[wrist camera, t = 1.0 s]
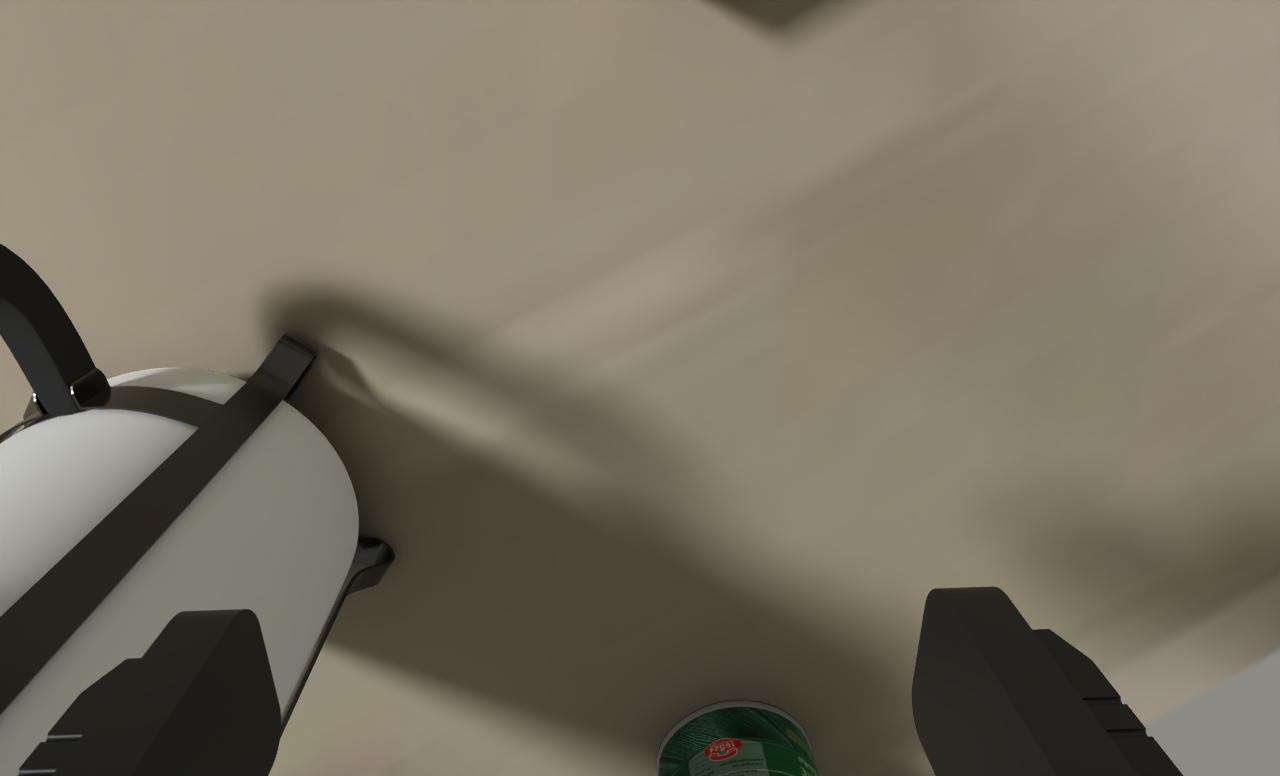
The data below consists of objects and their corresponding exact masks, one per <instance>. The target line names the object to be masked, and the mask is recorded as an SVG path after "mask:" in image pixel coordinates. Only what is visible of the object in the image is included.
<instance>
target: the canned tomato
mask: <svg viewBox="0 0 1280 776" xmlns="http://www.w3.org/2000/svg"><path fill="white" fill-rule="evenodd" d="M656 769H657V774H658V776H819V773H818V770H817V768H816V765H815V762H814V759H813V756H812V753H811V745H810V743H809V740H808V737H807V734H806V733H805V731H804V730H803V728H802V727H801V725H800V724H799V723H798V722H797V721H796V720H795V719H794V718H792V717H791V716H790V715H789V714H787V713H785V712H784V711H782V710H780V709H778V708H776V707H773V706H770V705H767V704H764V703H758V702H752V701H730V702H723V703H717V704H714V705H711V706H708V707H704V708H702V709H700V710H698V711H696V712H694V713H692V714H690V715H688V716H687V717H685V718H684V719H683V720H681V721H680V722H678V723H677V724H676V725H675V726H674V727H673V728H672V729H671V731H670V732H669V733H668V734H667V736H666V737H665V739H664V740H663V742H662V744H661V746H660V749H659V752H658V755H657V768H656Z"/></svg>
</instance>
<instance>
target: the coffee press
mask: <svg viewBox="0 0 1280 776" xmlns="http://www.w3.org/2000/svg"><path fill="white" fill-rule="evenodd" d="M0 335H1V336H2V338H3V339H4V341H5V342H6V344H7V346H8V347H9V349H10V350H11V352H12V354H13V355H14V357H15V359H16V360H17V362H18V364H19V366H20V367H21V369H22V371H23V373H24V374H25V376H26V378H27V380H28V381H29V383H30V385H31V387H32V388H33V390H34V392H33V395H32V397H31V399H30V402H29V404H28V406H27V408H26V411H25V413H24V416H23V418H24V420H23V421H22V422H20V423H19V424H17V425H15V426H14V427H12V428H11V429H9V430H8V431H6V432H5V433H3V434H2V435H0V776H18V774H19V768H20V767H21V765H22V764H23V763H24V762H25V761H26V759H27V758H28V757H29V756H30V754H31V753H32V752H33V751H34V749H35V748H36V747H37V746H38V745H39V743H40V742H46V740H47V737H48V735H47V734H48V732H49V731H50V730H51V729H52V727H53V726H54V725H55V724H56V723H57V721H58V720H59V719H60V718H61V716H62V715H63V714H64V713H65V711H66V710H67V709H68V708H69V707H70V705H71V704H72V703H73V702H74V700H75V699H76V698H77V697H78V696H79V694H80V693H81V692H83V691H84V690H85V689H87V688H88V687H89V686H91V685H92V684H93V683H95V682H96V681H97V680H99V679H100V678H101V677H103V676H104V675H106V674H107V673H108V672H110V671H111V670H112V669H114V668H115V667H116V666H118V665H119V664H120V663H122V662H123V661H124V660H126V659H129V658H142V657H143V655H144V654H145V653H146V651H147V650H148V649H149V647H150V646H151V645H152V643H153V642H154V641H155V640H156V638H157V637H158V636H159V634H160V633H161V632H162V630H163V629H164V628H165V626H166V625H167V624H168V623H169V621H170V620H171V619H172V618H173V617H174V616H175V615H176V614H178V613H180V612H182V611H202V610H232V609H249V610H251V611H253V612H254V613H255V614H256V616H257V618H258V620H259V623H260V627H261V631H262V635H263V639H264V643H265V647H266V651H267V655H268V659H269V663H270V668H271V672H272V676H273V680H274V684H275V688H276V692H277V696H278V700H279V705H280V710H281V734H280V738H281V736H282V733H283V731H284V729H285V727H286V725H287V722H288V720H289V718H290V716H291V714H292V712H293V709H294V707H295V705H296V703H297V701H298V699H299V696H300V694H301V692H302V690H303V688H304V686H305V683H306V681H307V679H308V677H309V675H310V673H311V670H312V668H313V666H314V664H315V662H316V660H317V657H318V655H319V653H320V651H321V649H322V647H323V644H324V642H325V640H326V638H327V636H328V634H329V632H330V629H331V627H332V625H333V623H334V621H335V619H336V616H337V614H338V612H339V610H340V608H341V606H342V604H343V602H344V600H345V597H346V596H347V595H349V594H351V593H353V592H356V591H359V590H362V589H365V588H369V587H372V586H375V585H377V584H378V583H379V582H380V580H381V579H382V577H383V576H384V574H385V573H386V571H387V570H388V568H389V567H390V565H391V564H392V562H393V561H394V558H395V554H394V551H393V550H392V548H391V547H390V546H389V545H388V544H387V543H385V542H383V541H382V540H379V539H376V538H360V539H358V533H359V516H358V507H357V501H356V496H355V492H354V489H353V486H352V483H351V480H350V477H349V475H348V473H347V471H346V468H345V466H344V464H343V463H342V461H341V459H340V457H339V456H338V454H337V452H336V451H335V449H334V448H333V447H332V445H331V444H330V443H329V441H328V440H327V439H326V437H325V436H324V435H323V434H322V433H321V432H320V431H319V430H318V428H317V427H316V426H315V425H314V424H313V423H312V422H310V421H309V420H308V419H307V418H306V417H305V416H304V415H303V414H301V413H300V412H299V411H298V410H296V409H295V408H294V407H292V406H291V405H290V404H288V401H289V400H290V398H291V397H292V395H293V393H294V392H295V390H296V389H297V387H298V386H299V384H300V383H301V381H302V380H303V379H304V377H305V376H306V374H307V372H308V371H309V369H310V368H311V366H312V364H313V363H314V361H315V359H316V357H317V355H318V353H319V351H317V350H316V349H314V348H312V347H310V346H308V345H307V344H305V343H303V342H301V341H299V340H297V339H296V338H294V337H292V336H290V335H288V334H287V333H286V334H285V335H284V336H283V337H282V338H281V339H280V340H279V342H278V343H277V344H276V346H275V347H274V348H273V350H272V351H271V352H270V354H269V355H268V356H267V358H266V359H265V360H264V362H263V363H262V364H261V366H260V367H259V368H258V370H257V371H256V372H255V373H254V375H253V376H252V377H251V378H250V379H249V380H248V381H247V382H246V381H244V380H241V379H238V378H235V377H232V376H228V375H225V374H221V373H217V372H212V371H207V370H201V369H192V368H156V369H147V370H141V371H136V372H131V373H127V374H123V375H119V376H116V377H113V378H110V379H106V377H105V375H104V374H103V373H102V372H101V371H100V370H99V369H97V368H96V367H95V365H94V363H93V361H92V359H91V357H90V355H89V353H88V351H87V349H86V347H85V345H84V343H83V341H82V340H81V338H80V336H79V334H78V332H77V331H76V329H75V327H74V325H73V324H72V322H71V320H70V319H69V317H68V315H67V314H66V312H65V311H64V309H63V307H62V306H61V304H60V303H59V301H58V300H57V299H56V297H55V296H54V294H53V293H52V292H51V290H50V289H49V287H48V286H47V285H46V284H45V283H44V281H43V280H42V279H41V278H40V277H39V275H38V274H37V273H36V272H35V271H34V270H33V269H32V268H31V267H30V266H29V265H28V264H27V263H26V262H25V261H24V260H22V259H21V258H20V257H19V256H17V255H16V254H15V253H13V252H12V251H11V250H9V249H8V248H7V247H5V246H3V245H1V244H0ZM22 425H24V427H25V428H23V429H22V430H20V431H19V432H17V433H16V434H14V433H15V432H16V431H17V430H18V429H19V428H20V427H21V426H22ZM13 434H14V435H13ZM12 435H13V436H12ZM352 562H364V563H366V564H369V565H370V567H367V568H364V569H362V570H360V571H358V572H357V573H356V574H355V575H354V576H353V578H352V579H351V581H350V582H349V584H348V585H347V587H346V588H345V590H344V591H343V593H342V594H341V596H340V598H339V599H338V601H337V602H336V604H335V606H334V607H333V605H334V603H335V601H336V598H337V596H338V594H339V592H340V590H341V587H342V585H343V583H344V581H345V578H346V576H347V574H348V571H349V569H350V566H351V564H352ZM332 607H333V609H332ZM331 609H332V611H331ZM330 611H331V613H330ZM329 613H330V615H329ZM328 616H329V617H328ZM327 618H328V619H327ZM326 620H327V621H326ZM325 622H326V623H325ZM324 624H325V625H324ZM323 626H324V627H323ZM322 628H323V629H322ZM315 643H316V644H315Z"/></svg>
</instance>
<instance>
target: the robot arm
mask: <svg viewBox="0 0 1280 776" xmlns="http://www.w3.org/2000/svg"><path fill="white" fill-rule="evenodd" d="M912 708H913V715H914V721H915V726H916V729H917V733H918V736H919V739H920V742H921V744H922V746H923V749H924V751H925V753H926V755H927V757H928V760H929V762H930V764H931V766H932V768H933V771H934V773H935V775H936V776H1183V775H1182V773H1181V772H1180V771H1179V770H1178V768H1177V767H1176V766H1175V765H1174V764H1173V762H1172V761H1171V760H1170V758H1169V757H1168V756H1167V755H1166V753H1165V752H1164V751H1163V749H1162V748H1161V747H1160V746H1159V744H1158V743H1157V742H1156V741H1155V740H1154V738H1153V737H1148V736H1147V735H1146V728H1145V727H1144V726H1143V724H1142V723H1141V722H1140V720H1139V719H1138V718H1137V717H1136V715H1135V714H1134V713H1133V712H1132V710H1131V709H1130V708H1129V707H1128V705H1127V704H1122V703H1121V696H1120V695H1119V694H1118V693H1117V691H1116V690H1115V689H1114V688H1113V686H1112V685H1111V684H1110V683H1109V681H1108V680H1107V679H1106V678H1105V676H1104V675H1103V674H1102V673H1101V671H1100V670H1099V669H1098V667H1097V666H1096V665H1095V664H1094V662H1093V661H1092V660H1091V659H1090V658H1088V657H1087V656H1086V655H1084V654H1083V653H1081V652H1080V651H1079V650H1077V649H1076V648H1075V647H1073V646H1072V645H1070V644H1069V643H1068V642H1066V641H1065V640H1063V639H1062V638H1061V637H1059V636H1058V635H1057V634H1055V633H1054V632H1052V631H1051V630H1050V629H1038V630H1032V629H1031V628H1030V626H1029V625H1028V623H1027V622H1026V621H1025V619H1024V618H1023V617H1022V615H1021V614H1020V612H1019V611H1018V610H1017V608H1016V607H1015V606H1014V604H1013V603H1012V602H1011V600H1010V599H1009V597H1008V596H1007V595H1006V594H1005V593H1004V591H1002V590H1001V589H1000V588H998V587H968V588H938V589H933V590H931V591H930V593H929V594H928V596H927V599H926V603H925V609H924V615H923V621H922V628H921V634H920V640H919V646H918V653H917V659H916V665H915V672H914V678H913V685H912ZM280 734H281V710H280V705H279V700H278V696H277V692H276V688H275V684H274V680H273V676H272V672H271V668H270V663H269V659H268V655H267V651H266V647H265V643H264V639H263V635H262V631H261V627H260V623H259V620H258V618H257V616H256V614H255V613H254V612H253V611H251V610H249V609H232V610H202V611H182V612H180V613H178V614H176V615H175V616H174V617H173V618H172V619H171V620H170V621H169V623H168V624H167V625H166V626H165V628H164V629H163V630H162V632H161V633H160V634H159V636H158V637H157V638H156V640H155V641H154V642H153V643H152V645H151V646H150V647H149V649H148V650H147V651H146V653H145V654H144V655H143V657H142V658H129V659H126V660H124V661H123V662H122V663H120V664H119V665H118V666H116V667H115V668H114V669H112V670H111V671H110V672H108V673H107V674H106V675H104V676H103V677H101V678H100V679H99V680H97V681H96V682H95V683H93V684H92V685H91V686H89V687H88V688H87V689H85V690H84V691H83V692H81V693H80V694H79V696H78V697H77V698H76V699H75V700H74V702H73V703H72V704H71V705H70V707H69V708H68V709H67V710H66V711H65V713H64V714H63V715H62V716H61V718H60V719H59V720H58V721H57V723H56V724H55V725H54V726H53V727H52V729H51V730H50V731H49V732H48V734H47V735H48V737H47V740H46V742H40V743H39V745H38V746H37V747H36V748H35V749H34V751H33V752H32V753H31V754H30V756H29V757H28V758H27V759H26V761H25V762H24V763H23V764H22V765H21V767H20V768H19V774H18V776H268V774H269V772H270V770H271V768H272V766H273V763H274V761H275V758H276V754H277V750H278V746H279V741H280Z"/></svg>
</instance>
